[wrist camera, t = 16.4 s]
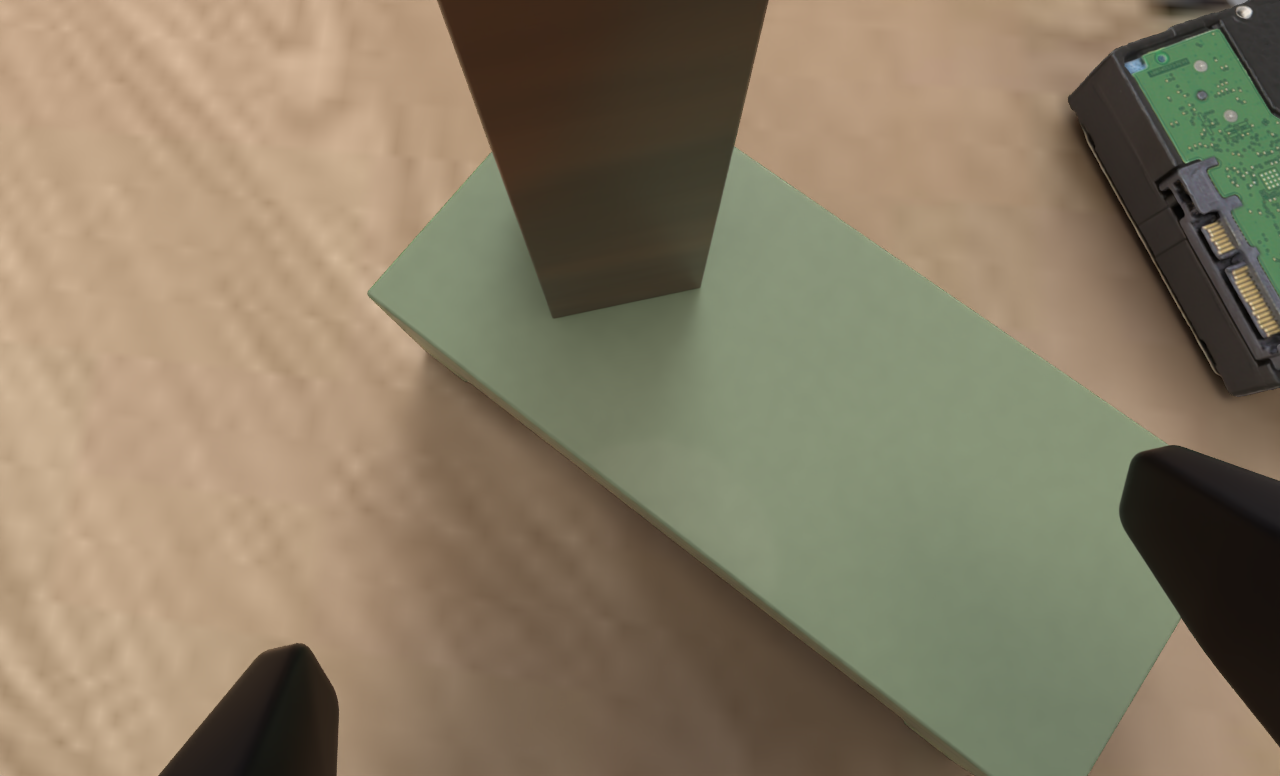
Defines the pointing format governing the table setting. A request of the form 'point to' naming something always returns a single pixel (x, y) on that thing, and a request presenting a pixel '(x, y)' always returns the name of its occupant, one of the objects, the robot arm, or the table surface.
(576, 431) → the sage green box
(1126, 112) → the disk drive
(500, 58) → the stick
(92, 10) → the table surface
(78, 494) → the table surface
